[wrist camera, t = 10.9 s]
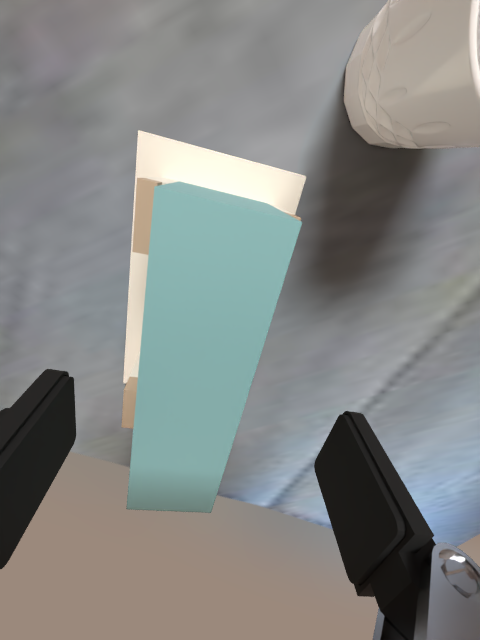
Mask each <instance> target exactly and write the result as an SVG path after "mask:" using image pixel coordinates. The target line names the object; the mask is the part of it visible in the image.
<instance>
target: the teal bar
mask: <svg viewBox="0 0 480 640" xmlns="http://www.w3.org/2000/svg"><path fill="white" fill-rule="evenodd" d="M301 225H302V222H301V221H299V220H297V219H295V218H294V217H292V216H290V215H288V214H286V213H284V212H282V211H281V210H279V209H277V208H275V207H273V206H271V205H269V204H268V203H265V202H261V201H257V200H253V199H249V198H245V197H241V196H237V195H233V194H229V193H225V192H221V191H217V190H213V189H209V188H205V187H201V186H197V185H193V184H189V183H185V182H181V181H179V182H174V183H169V184H164V185H159V186H154V198H153V209H152V221H151V232H150V244H149V255H148V267H147V278H146V290H145V301H144V313H143V324H142V336H141V347H140V359H139V370H138V382H137V393H136V405H135V416H134V428H133V439H132V451H131V462H130V474H129V486H128V497H127V509H133V510H157V511H181V512H205V513H211V511H212V508H213V505H214V501H215V498H216V495H217V492H218V489H219V486H220V482H221V479H222V476H223V473H224V470H225V466H226V463H227V460H228V457H229V454H230V451H231V447H232V444H233V441H234V438H235V435H236V431H237V428H238V425H239V422H240V419H241V416H242V412H243V409H244V406H245V403H246V400H247V396H248V393H249V390H250V387H251V384H252V381H253V377H254V374H255V371H256V368H257V365H258V361H259V358H260V355H261V352H262V349H263V346H264V342H265V339H266V336H267V333H268V330H269V327H270V323H271V320H272V317H273V314H274V311H275V307H276V304H277V301H278V298H279V295H280V292H281V288H282V285H283V282H284V279H285V276H286V272H287V269H288V266H289V263H290V260H291V257H292V253H293V250H294V247H295V244H296V241H297V237H298V234H299V231H300V228H301Z"/></svg>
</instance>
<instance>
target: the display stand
mask: <svg viewBox="0 0 480 640" xmlns="http://www.w3.org/2000/svg"><path fill="white" fill-rule="evenodd" d="M305 179H306V176H304V175H300V174H296V173H293V172H289V171H285V170H282V169H278V168H274V167H271V166H267V165H263V164H260V163H256V162H252V161H249V160H245V159H241V158H238V157H234V156H231V155H227V154H223V153H220V152H216V151H212V150H209V149H205V148H201V147H198V146H194V145H190V144H187V143H183V142H179V141H176V140H172V139H168V138H165V137H161V136H157V135H154V134H150V133H147V132H143V131H139V130H138V144H137V161H136V177H135V194H134V211H133V228H132V245H131V262H130V279H129V296H128V313H127V330H126V347H125V364H124V380H123V383H127V384H126V386H125V389H124V398H123V414H122V427H123V428H134V416H135V405H136V393H137V382H138V370H139V359H140V347H141V336H142V324H143V313H144V301H145V290H146V278H147V267H148V255H149V244H150V232H151V221H152V209H153V198H154V186H159V185H164V184H169V183H174V182H179V181H181V182H185V183H189V184H193V185H197V186H201V187H205V188H209V189H213V190H217V191H221V192H225V193H229V194H233V195H237V196H241V197H245V198H249V199H253V200H257V201H261V202H265V203H268V204H269V205H271V206H273V207H275V208H277V209H279V210H281V211H282V212H284V213H286V214H288V215H290V216H292V217H294V218H295V219H297V220H299V221H300V220H301V218H300V217H298V216H296V215H295V213H296V209H297V206H298V203H299V199H300V196H301V193H302V189H303V186H304V183H305Z"/></svg>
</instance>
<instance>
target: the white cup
mask: <svg viewBox="0 0 480 640" xmlns="http://www.w3.org/2000/svg"><path fill="white" fill-rule="evenodd" d="M344 104H345V107H346V110H347V113H348V116H349V120H350V123H351V126H352V128H353V129H354V130H355V131H356V132H357V133H358V134H359V135H360V136H361V137H362V138H363V139H364V140H365V141H366V142H367V143H368V144H371V145H376V146H382V147H387V148H412V149H426V148H431V149H446V148H468V147H480V0H388V2H387V3H386V4H385V6H384V7H383V8H382V9H381V11H380V12H379V13H378V14H377V15H376V16H375V17H374V18H373V20H372V21H371V22H370V23H369V24H368V25H367V26H366V27H365V28H364V29H363V30H362V32H361V33H360V35H359V38H358V40H357V42H356V45H355V47H354V49H353V52H352V54H351V56H350V59H349V61H348V63H347V66H346V74H345V87H344Z"/></svg>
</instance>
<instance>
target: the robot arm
mask: <svg viewBox="0 0 480 640" xmlns="http://www.w3.org/2000/svg"><path fill="white" fill-rule="evenodd" d="M75 438H76V419H75V395H74V378H73V377H69V374H68V372H66V371H59V370H52V369H47V370H45V371H44V372H43V373H42V374H41V375H40V376H39V377H38V378H37V379H36V380H35V382H34V383H33V384H32V385H31V386H30V387H29V388H28V389H27V390H26V391H25V392H24V393H23V395H22V396H21V397H20V398H19V399H18V400H17V401H16V402H15V403H14V404H13V405H12V407H11V408H5V409H3V410H1V411H0V569H2V568H3V567H4V566H5V565H6V564H7V562H8V561H9V559H10V557H11V555H12V553H13V552H14V550H15V548H16V546H17V545H18V543H19V541H20V539H21V537H22V536H23V534H24V532H25V530H26V528H27V527H28V525H29V523H30V521H31V520H32V518H33V516H34V514H35V512H36V510H37V509H38V507H39V505H40V503H41V502H42V500H43V498H44V496H45V494H46V492H47V491H48V489H49V487H50V486H51V484H52V482H53V480H54V478H55V477H56V475H57V473H58V471H59V469H60V468H61V466H62V464H63V462H64V460H65V459H66V457H67V455H68V453H69V452H70V450H71V448H72V446H73V444H74V441H75ZM314 467H315V473H316V476H317V479H318V482H319V486H320V489H321V492H322V495H323V499H324V502H325V505H326V508H327V512H328V515H329V518H330V521H331V524H332V528H333V531H334V534H335V537H336V540H337V544H338V547H339V550H340V553H341V557H342V560H343V563H344V566H345V570H346V573H347V576H348V578H349V580H350V582H351V583H353V584H354V586H355V589H356V592H357V595H358V596H370V597H374V596H375V598H376V601H377V603H378V606H379V610H378V615H377V620H376V625H375V630H374V635H373V640H480V567H479V566H478V565H477V564H476V563H475V562H474V561H473V560H472V559H471V558H470V557H469V556H468V555H467V554H465V553H464V552H463V551H462V550H460V549H458V548H457V547H455V546H453V545H451V544H448V543H438V544H435V542H434V541H433V539H432V537H433V536H434V535H433V533H432V531H431V530H430V528H429V526H428V524H427V523H426V521H425V519H424V518H423V516H422V514H421V512H420V511H419V509H418V507H417V506H416V504H415V502H414V500H413V499H412V497H411V495H410V494H409V492H408V490H407V488H406V487H405V485H404V483H403V482H402V480H401V478H400V477H399V475H398V473H397V471H396V470H395V468H394V466H393V465H392V463H391V461H390V459H389V458H388V456H387V454H386V453H385V451H384V449H383V447H382V446H381V444H380V442H379V441H378V439H377V437H376V435H375V434H374V432H373V430H372V429H371V427H370V425H369V424H368V422H367V420H366V418H365V417H364V415H363V414H361V413H356V412H349V411H345V412H344V413H343V414H342V415H339V417H338V418H337V420H336V422H335V424H334V426H333V428H332V430H331V432H330V434H329V435H328V437H327V439H326V441H325V443H324V445H323V447H322V449H321V451H320V453H319V455H318V456H317V458H316V460H315V465H314Z"/></svg>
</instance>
